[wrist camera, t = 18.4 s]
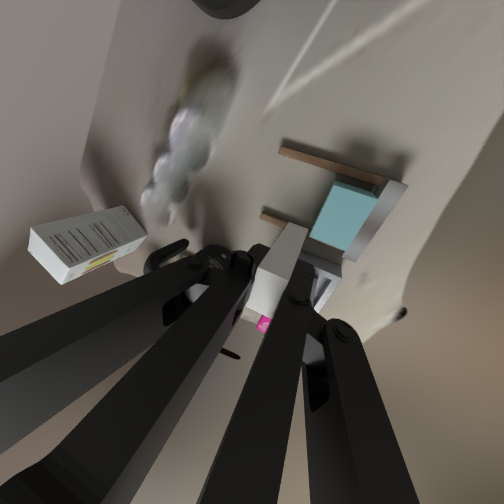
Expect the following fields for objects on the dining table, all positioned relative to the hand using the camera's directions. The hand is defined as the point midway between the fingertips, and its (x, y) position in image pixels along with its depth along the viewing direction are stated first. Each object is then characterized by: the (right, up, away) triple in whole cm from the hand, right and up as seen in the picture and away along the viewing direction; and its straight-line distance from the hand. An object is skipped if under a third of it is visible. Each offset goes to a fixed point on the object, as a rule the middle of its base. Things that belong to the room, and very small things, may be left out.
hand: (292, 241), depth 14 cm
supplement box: (-35, +5, +34) cm, 49 cm away
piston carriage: (+10, +5, +13) cm, 17 cm away
